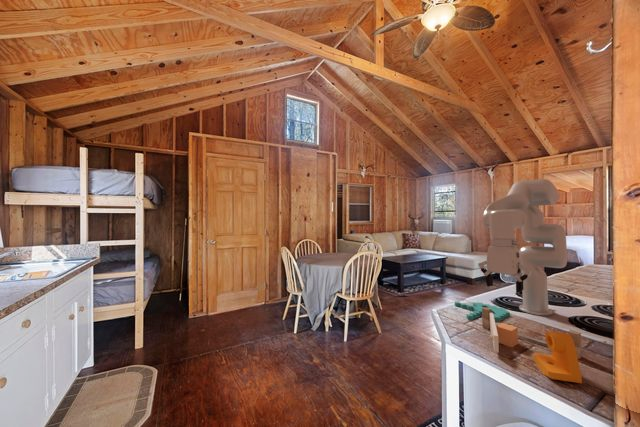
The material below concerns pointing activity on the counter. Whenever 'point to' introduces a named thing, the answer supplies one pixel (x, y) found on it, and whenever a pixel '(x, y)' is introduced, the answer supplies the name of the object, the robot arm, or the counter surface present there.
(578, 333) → the gate frame
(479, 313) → the alien figure
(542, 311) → the robot arm
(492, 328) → the gate door
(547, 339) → the bracket
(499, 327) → the block
